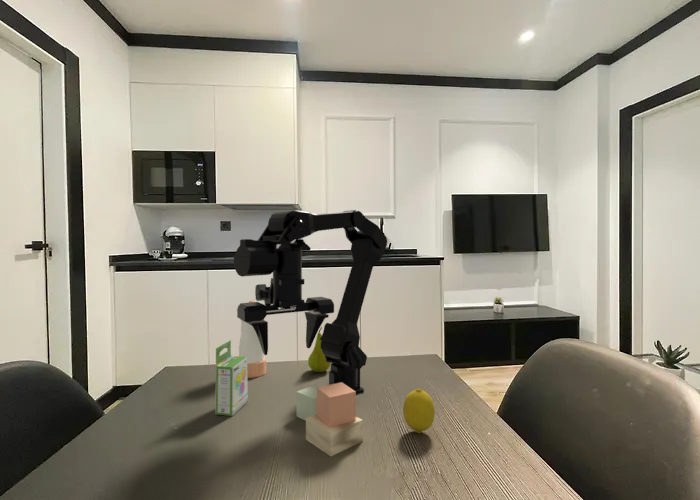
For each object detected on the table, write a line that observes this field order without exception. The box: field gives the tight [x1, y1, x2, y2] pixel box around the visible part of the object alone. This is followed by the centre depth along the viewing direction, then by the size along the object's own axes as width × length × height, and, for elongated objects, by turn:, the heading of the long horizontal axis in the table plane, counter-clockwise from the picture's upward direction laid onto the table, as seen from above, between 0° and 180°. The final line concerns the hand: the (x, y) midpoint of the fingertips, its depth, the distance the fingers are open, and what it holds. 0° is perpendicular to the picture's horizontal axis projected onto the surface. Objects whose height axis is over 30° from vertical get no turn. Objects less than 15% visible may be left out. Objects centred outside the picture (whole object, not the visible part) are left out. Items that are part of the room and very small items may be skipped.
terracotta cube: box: [317, 382, 357, 427], centre depth 65 cm, size 5×5×5 cm
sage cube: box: [296, 384, 321, 422], centre depth 74 cm, size 5×5×5 cm
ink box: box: [214, 339, 249, 417], centre depth 78 cm, size 7×4×13 cm, turn 172°
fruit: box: [307, 326, 331, 373], centre depth 101 cm, size 6×6×12 cm
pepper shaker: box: [238, 300, 267, 379], centre depth 99 cm, size 7×7×19 cm
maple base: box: [305, 414, 364, 457], centre depth 65 cm, size 7×7×4 cm
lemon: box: [402, 388, 436, 434], centre depth 67 cm, size 6×6×8 cm
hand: (287, 351), depth 75 cm, fingers open, 9 cm apart
